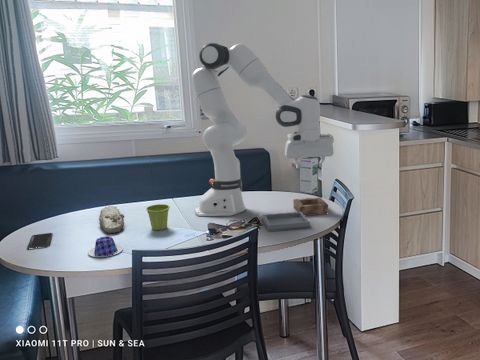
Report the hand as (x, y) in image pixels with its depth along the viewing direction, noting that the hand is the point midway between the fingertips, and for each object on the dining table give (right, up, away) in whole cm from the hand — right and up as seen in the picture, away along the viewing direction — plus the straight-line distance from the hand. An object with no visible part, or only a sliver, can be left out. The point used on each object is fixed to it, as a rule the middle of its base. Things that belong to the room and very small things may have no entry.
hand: (309, 167), depth 205 cm
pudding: (-77, -31, -32) cm, 89 cm away
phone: (-106, -30, -18) cm, 111 cm away
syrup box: (0, -10, +2) cm, 11 cm away
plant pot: (-62, -25, -9) cm, 67 cm away
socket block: (+1, -19, +4) cm, 19 cm away
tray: (-11, -23, -12) cm, 28 cm away
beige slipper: (-84, -24, +3) cm, 87 cm away
